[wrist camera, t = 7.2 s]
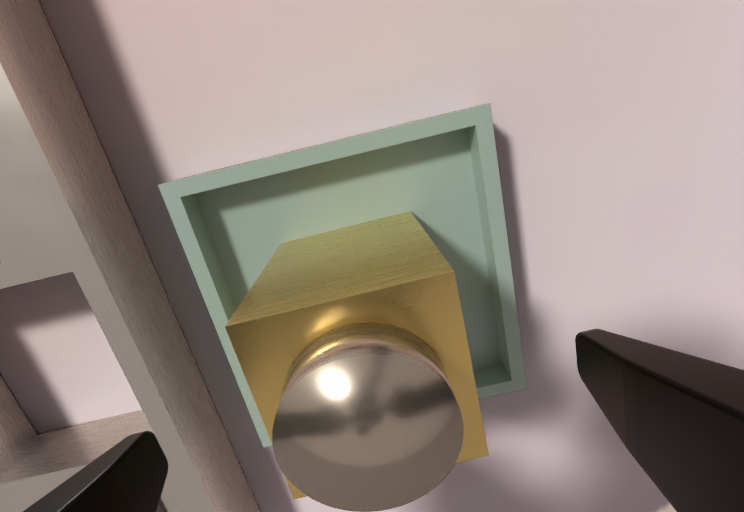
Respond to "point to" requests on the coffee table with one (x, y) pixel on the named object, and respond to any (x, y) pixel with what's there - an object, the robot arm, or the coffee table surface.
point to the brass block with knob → (361, 364)
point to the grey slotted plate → (93, 288)
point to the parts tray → (358, 205)
